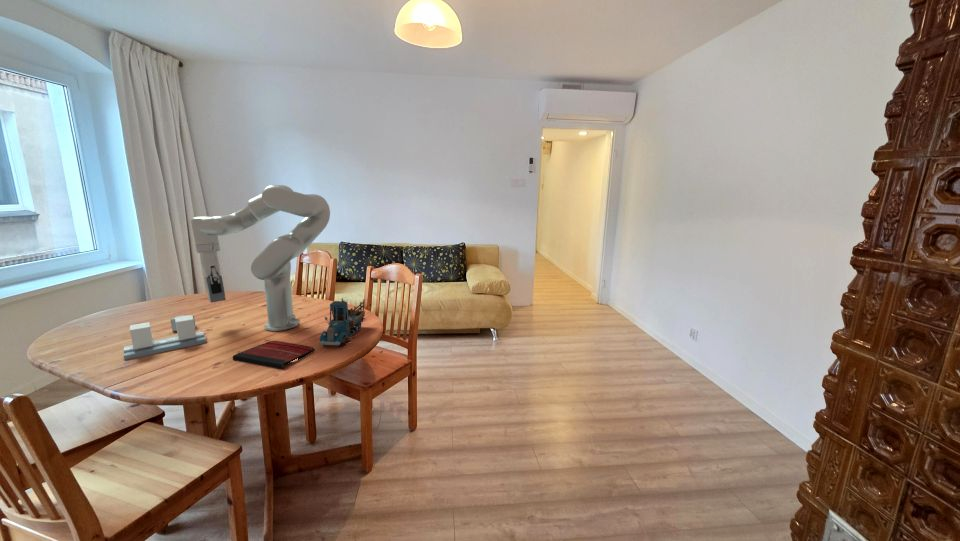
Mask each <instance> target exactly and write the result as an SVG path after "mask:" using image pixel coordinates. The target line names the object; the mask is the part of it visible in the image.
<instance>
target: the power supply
mask: <svg viewBox="0 0 960 541" xmlns="http://www.w3.org/2000/svg"><path fill="white" fill-rule="evenodd" d="M191 315H192V314H191ZM182 316H188V315H187V314H186V315H177V316H174V317H172V318H170V319H169V320H170V325H171V331H172V332H174V331H175V332H177V328H176V322H175V318H177V317H182ZM192 317H193V319H194V326H195V328H196V326H197V324H196V320H195V315H192Z"/></svg>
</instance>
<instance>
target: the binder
mask: <svg viewBox="0 0 960 541" xmlns="http://www.w3.org/2000/svg"><path fill="white" fill-rule="evenodd" d="M314 350H316V348H314V347H311V346H308V345H304V344H299V343H298V344H297V343H293V342H292V343H291V342H286V341H279V340H270V341H266V342H264V343H262V344H259V345H256V346H253V347H250V348H248V349H245V350H243V351H241V352H237V353H236V354H234V355H232V360H233V361H236V362H242V363H247V364H251V365H252V364H253V365H258V366H264V367H267V368H268V367H269V368H272V369H273V368H274V369H278V370H279V369H280V370H284V366H288V365H289V364H291V363H292V362H291V361H293V360H295V359H297V358H298V361H300V360H301V358H302V359H303V357H304V358H305V357H306V355H307V356H309V355H311V354H312V353H314V352H315V351H314ZM313 351H314V352H313ZM311 352H312V353H311ZM308 354H309V355H308ZM299 359H300V360H299ZM290 362H291V363H290ZM288 363H289V364H288ZM287 364H288V365H287ZM283 365H284V366H283Z"/></svg>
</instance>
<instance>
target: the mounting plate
mask: <svg viewBox="0 0 960 541" xmlns="http://www.w3.org/2000/svg"><path fill="white" fill-rule="evenodd" d="M195 332H196V333H198V332H203V330H200V331H195ZM173 337H178V335H174V336H171V337H164V338H160V339H155V340H153V341H158V340H163V339H168V338H173ZM206 343H207V339H206V337H205V335H204V336H203V337H199V338H194V339H189V340H184V341H179V342H174V343H169V344H164V345H159V346H154V347H149V348H144V349H139V350H134V351H130V352H125V353H124V352H123V359H124V361H126V360H131V359H136V358H141V357H145V356H150V355H155V354H160V353H164V352H168V351H172V350H173V351H174V350H178V349H179V350H180V349H182V348H187V347H192V346H196V345H201V344H206ZM132 345H133V344H130V345H124V347H127V346H132Z"/></svg>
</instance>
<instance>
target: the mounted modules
mask: <svg viewBox="0 0 960 541" xmlns="http://www.w3.org/2000/svg"><path fill="white" fill-rule="evenodd" d="M194 319H195V318H194ZM194 319H193V317H192V314H190V315H188V316H182V317H177V318H175V322H176V328H177V331H176V333H177V336H178V338H179V340H184V339H189V338H194V337H196V332H197V331H196V327H195V326H194ZM129 332H130V333H129V334H130V338H131V345H133V349H139V348H144V347H149V346H153V341H154V340H153V335H152V329H151V323H150V321H147V322H143V323H142V322H141V323H137V324H135V323H134V324H130V325H129Z"/></svg>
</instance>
